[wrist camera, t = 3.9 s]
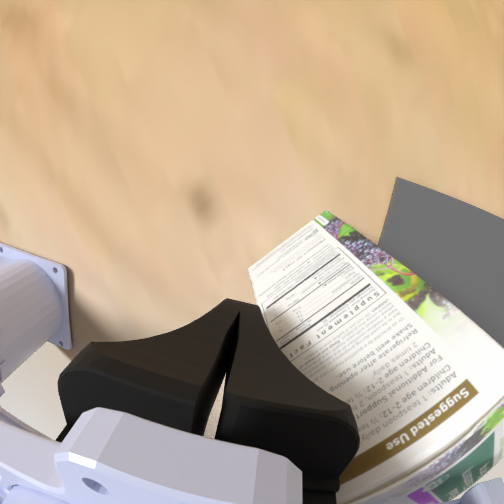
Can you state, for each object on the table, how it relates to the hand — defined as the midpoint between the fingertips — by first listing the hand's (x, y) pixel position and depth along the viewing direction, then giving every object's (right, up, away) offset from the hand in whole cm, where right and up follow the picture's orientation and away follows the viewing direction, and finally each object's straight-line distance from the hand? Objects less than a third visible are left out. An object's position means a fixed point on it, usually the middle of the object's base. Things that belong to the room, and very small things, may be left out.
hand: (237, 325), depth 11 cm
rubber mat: (+16, -1, +8) cm, 18 cm away
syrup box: (+4, +1, +7) cm, 8 cm away
